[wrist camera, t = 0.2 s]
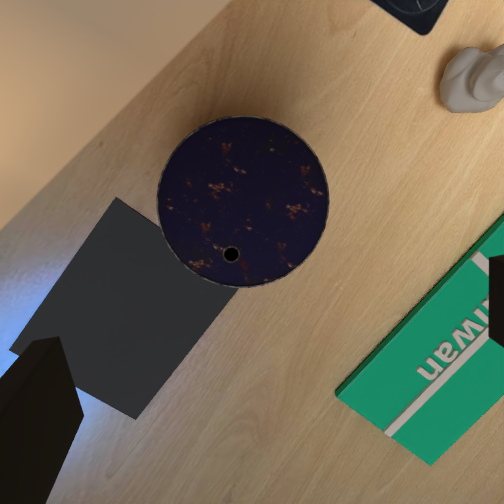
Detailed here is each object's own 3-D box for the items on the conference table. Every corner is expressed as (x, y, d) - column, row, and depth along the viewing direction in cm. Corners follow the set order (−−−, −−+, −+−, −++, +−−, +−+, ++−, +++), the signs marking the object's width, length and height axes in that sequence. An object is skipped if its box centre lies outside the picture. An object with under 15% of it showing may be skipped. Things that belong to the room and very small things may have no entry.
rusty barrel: (189, 107, 36) (178, 87, 21) (297, 140, 37) (355, 141, 23) (163, 219, 38) (136, 268, 23) (266, 245, 39) (301, 306, 25)
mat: (115, 197, 37) (115, 197, 37) (241, 284, 40) (241, 284, 40) (9, 349, 40) (8, 350, 39) (135, 419, 43) (135, 419, 43)
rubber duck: (416, 86, 37) (471, 72, 29) (472, 29, 36) (544, -1, 29) (452, 131, 38) (513, 129, 31) (507, 76, 38) (584, 61, 30)
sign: (526, 201, 40) (612, 292, 43) (517, 199, 41) (602, 288, 44) (337, 399, 43) (432, 468, 47) (334, 392, 44) (426, 460, 48)
